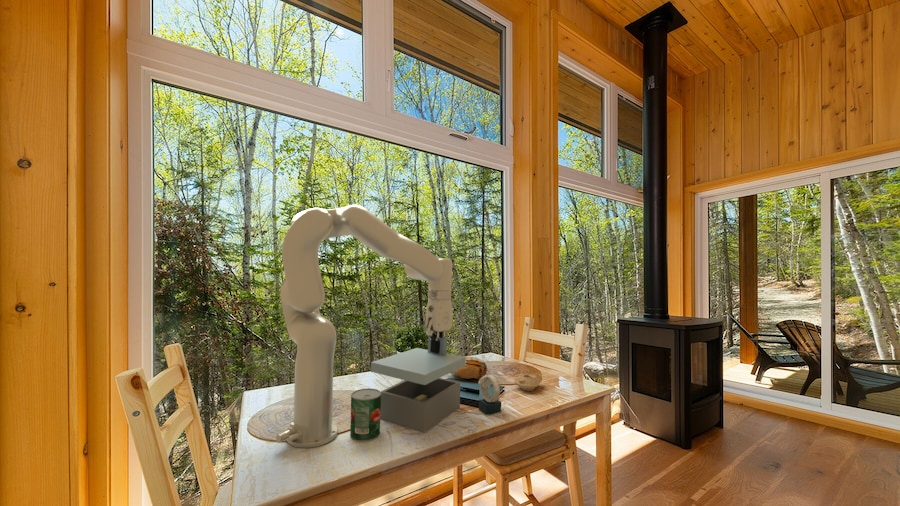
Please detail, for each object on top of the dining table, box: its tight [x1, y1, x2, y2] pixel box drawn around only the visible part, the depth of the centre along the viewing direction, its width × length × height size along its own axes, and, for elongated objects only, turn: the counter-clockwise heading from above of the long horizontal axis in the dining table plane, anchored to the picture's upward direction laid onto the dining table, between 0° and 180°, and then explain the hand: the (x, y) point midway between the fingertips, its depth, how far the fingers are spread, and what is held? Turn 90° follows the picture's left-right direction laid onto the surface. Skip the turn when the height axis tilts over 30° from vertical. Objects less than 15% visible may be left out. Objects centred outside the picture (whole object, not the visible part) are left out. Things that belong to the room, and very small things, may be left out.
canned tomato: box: [349, 387, 381, 443], centre depth 98 cm, size 8×8×11 cm
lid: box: [370, 336, 466, 385], centre depth 111 cm, size 23×19×8 cm
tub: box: [380, 377, 461, 434], centre depth 112 cm, size 20×16×8 cm
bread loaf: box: [450, 355, 492, 381], centre depth 143 cm, size 8×22×15 cm
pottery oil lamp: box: [513, 373, 543, 392], centre depth 134 cm, size 9×12×7 cm
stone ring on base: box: [477, 374, 502, 416], centre depth 114 cm, size 6×8×11 cm
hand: (437, 351), depth 119 cm, fingers closed on lid
